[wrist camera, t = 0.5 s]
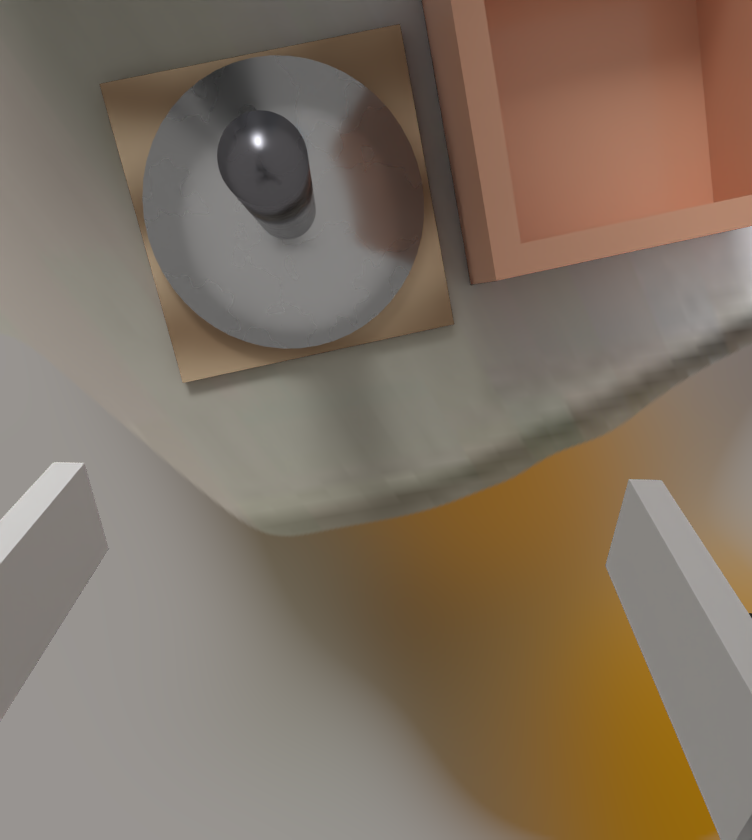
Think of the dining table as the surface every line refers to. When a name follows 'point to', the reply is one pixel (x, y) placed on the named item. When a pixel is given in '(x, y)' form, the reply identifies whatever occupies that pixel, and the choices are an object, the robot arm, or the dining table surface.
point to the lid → (283, 201)
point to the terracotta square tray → (592, 125)
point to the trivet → (389, 80)
